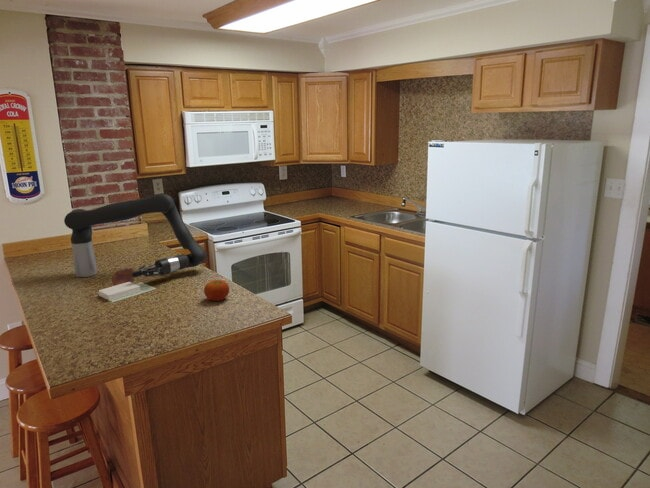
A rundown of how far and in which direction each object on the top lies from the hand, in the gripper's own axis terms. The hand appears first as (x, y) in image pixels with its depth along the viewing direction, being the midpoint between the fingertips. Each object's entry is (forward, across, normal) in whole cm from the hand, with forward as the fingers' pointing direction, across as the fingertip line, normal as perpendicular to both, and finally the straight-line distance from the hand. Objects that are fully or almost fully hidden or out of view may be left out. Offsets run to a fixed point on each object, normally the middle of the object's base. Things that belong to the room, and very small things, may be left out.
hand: (132, 275), depth 208 cm
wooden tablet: (-6, -23, +8) cm, 26 cm away
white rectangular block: (0, 0, +6) cm, 6 cm away
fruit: (-17, +39, +8) cm, 43 cm away
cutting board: (+3, 0, +8) cm, 8 cm away
